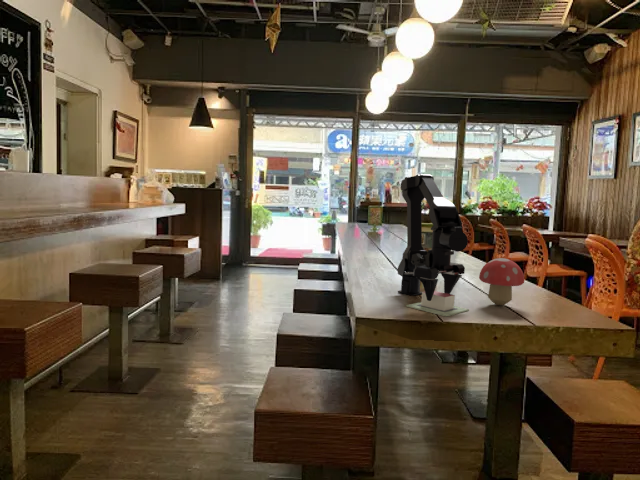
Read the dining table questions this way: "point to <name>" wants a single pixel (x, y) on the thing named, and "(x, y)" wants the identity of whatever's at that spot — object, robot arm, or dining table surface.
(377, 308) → the dining table surface
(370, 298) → the dining table surface
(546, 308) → the dining table surface
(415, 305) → the mat
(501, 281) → the decorative mushroom
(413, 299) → the dining table surface
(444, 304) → the card box
